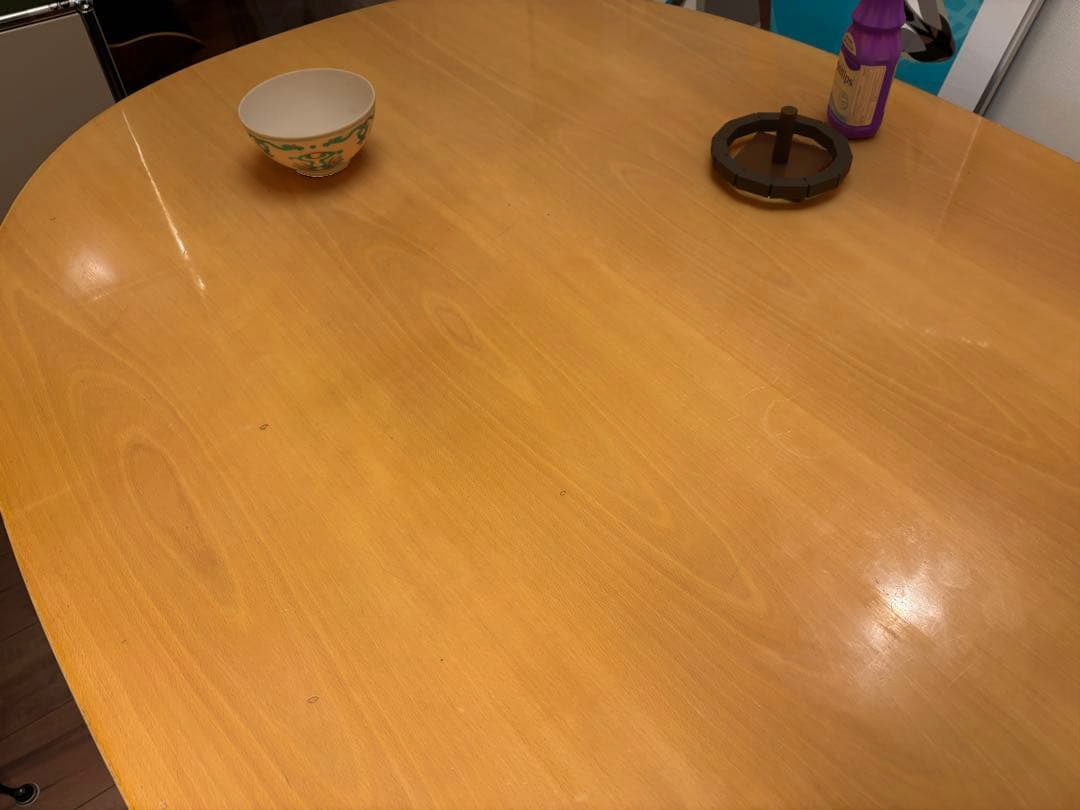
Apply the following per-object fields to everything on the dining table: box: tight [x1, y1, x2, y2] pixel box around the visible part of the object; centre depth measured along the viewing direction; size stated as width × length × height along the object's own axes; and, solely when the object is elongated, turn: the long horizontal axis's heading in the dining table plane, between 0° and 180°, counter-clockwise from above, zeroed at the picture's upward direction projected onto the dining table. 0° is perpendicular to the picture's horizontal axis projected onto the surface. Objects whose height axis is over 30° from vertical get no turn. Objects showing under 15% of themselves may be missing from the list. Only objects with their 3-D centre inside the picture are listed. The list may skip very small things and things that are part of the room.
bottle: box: [826, 0, 907, 139], centre depth 97 cm, size 7×6×17 cm
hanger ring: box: [709, 111, 854, 200], centre depth 96 cm, size 15×15×2 cm
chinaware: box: [237, 67, 376, 177], centre depth 99 cm, size 15×15×8 cm
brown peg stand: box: [733, 105, 833, 204], centre depth 95 cm, size 9×9×8 cm
